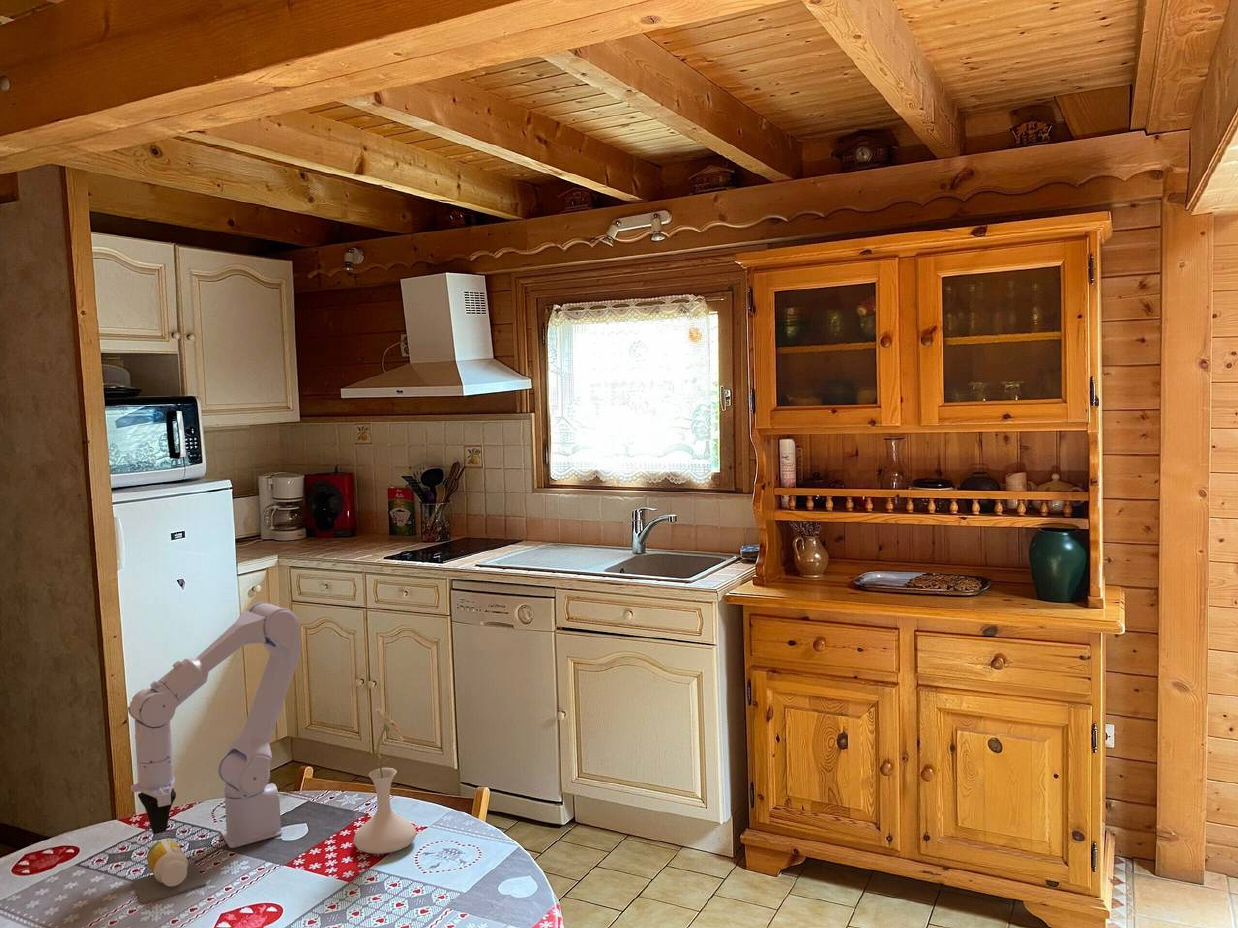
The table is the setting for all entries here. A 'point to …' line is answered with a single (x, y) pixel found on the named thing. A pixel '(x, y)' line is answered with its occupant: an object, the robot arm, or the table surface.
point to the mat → (156, 890)
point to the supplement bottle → (167, 862)
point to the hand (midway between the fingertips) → (159, 831)
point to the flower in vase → (384, 807)
